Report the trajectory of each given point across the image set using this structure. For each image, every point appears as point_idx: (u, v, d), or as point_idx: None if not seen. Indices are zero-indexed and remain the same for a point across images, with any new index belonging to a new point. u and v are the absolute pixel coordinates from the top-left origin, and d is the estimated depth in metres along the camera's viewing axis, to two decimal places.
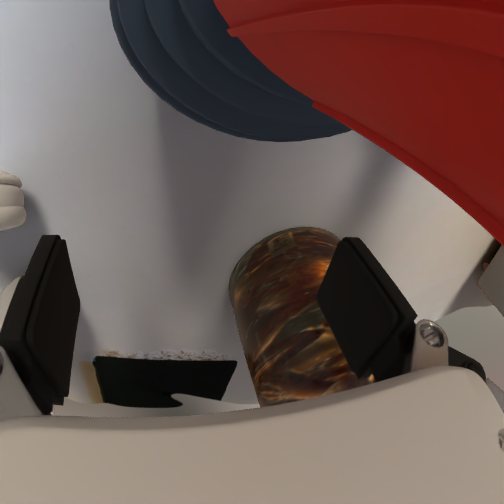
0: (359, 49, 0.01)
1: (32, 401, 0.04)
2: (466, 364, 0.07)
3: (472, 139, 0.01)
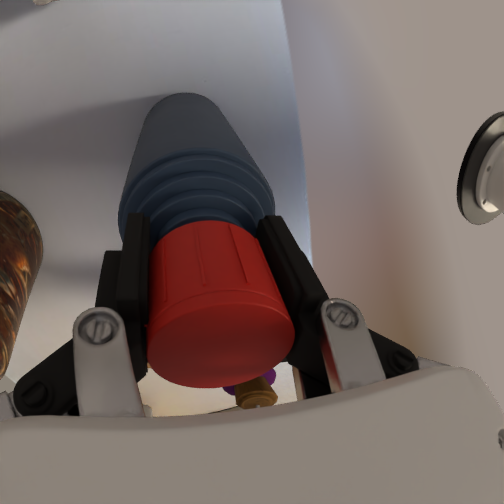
0: (161, 283, 0.07)
1: (133, 378, 0.05)
2: (393, 352, 0.08)
3: (156, 299, 0.07)
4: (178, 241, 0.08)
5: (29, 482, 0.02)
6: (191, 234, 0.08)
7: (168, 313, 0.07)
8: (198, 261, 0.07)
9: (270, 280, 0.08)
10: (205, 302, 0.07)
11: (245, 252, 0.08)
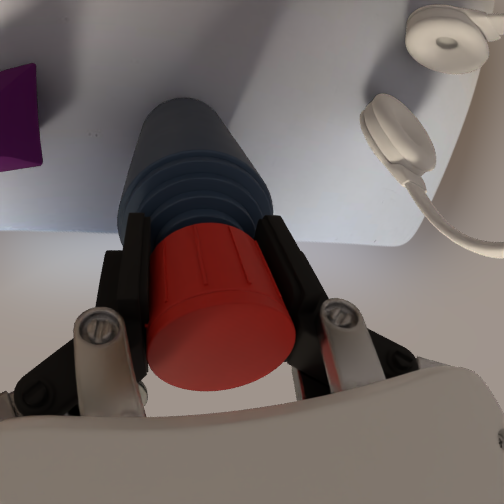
0: (161, 284, 0.07)
1: (134, 378, 0.05)
2: (393, 352, 0.08)
3: (157, 300, 0.07)
4: (178, 242, 0.08)
5: (29, 482, 0.02)
6: (191, 236, 0.08)
7: (169, 313, 0.07)
8: (199, 262, 0.07)
9: (270, 282, 0.08)
10: (206, 302, 0.07)
11: (245, 253, 0.08)
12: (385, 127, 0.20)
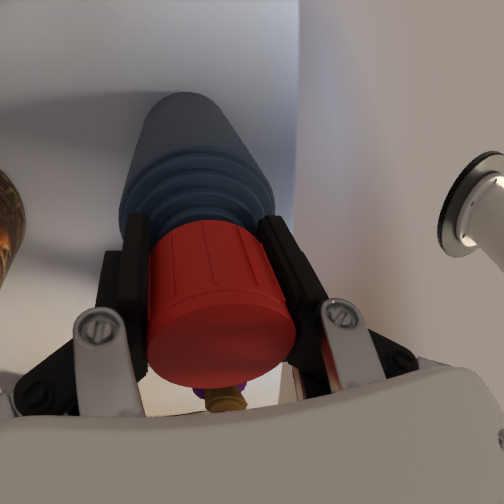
0: None
1: (134, 378, 0.05)
2: (393, 352, 0.08)
3: None
4: None
5: (29, 482, 0.02)
6: None
7: None
8: None
9: (151, 301, 0.08)
10: None
11: None
12: None
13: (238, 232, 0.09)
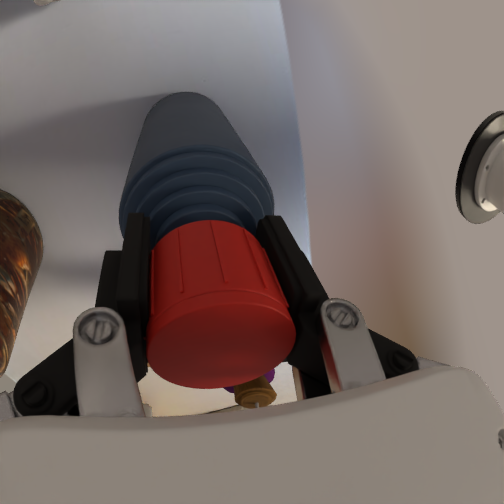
0: None
1: (134, 378, 0.05)
2: (393, 352, 0.08)
3: None
4: None
5: (29, 482, 0.02)
6: None
7: None
8: None
9: None
10: None
11: None
12: None
13: None
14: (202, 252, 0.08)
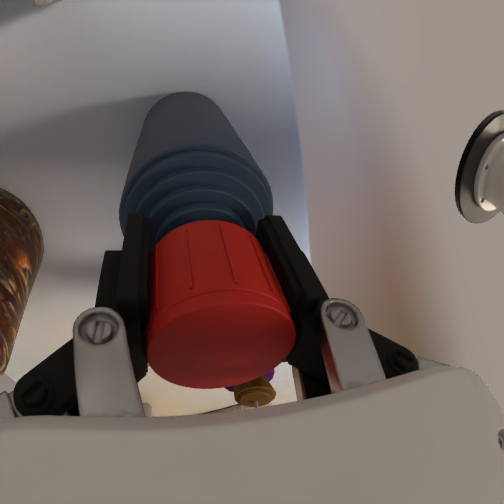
0: (183, 269, 0.07)
1: (133, 378, 0.05)
2: (393, 352, 0.08)
3: (176, 284, 0.07)
4: (202, 233, 0.08)
5: (29, 482, 0.02)
6: (217, 231, 0.08)
7: (195, 301, 0.07)
8: (228, 258, 0.08)
9: (279, 295, 0.09)
10: (237, 298, 0.07)
11: (264, 262, 0.09)
12: None
13: None
14: None
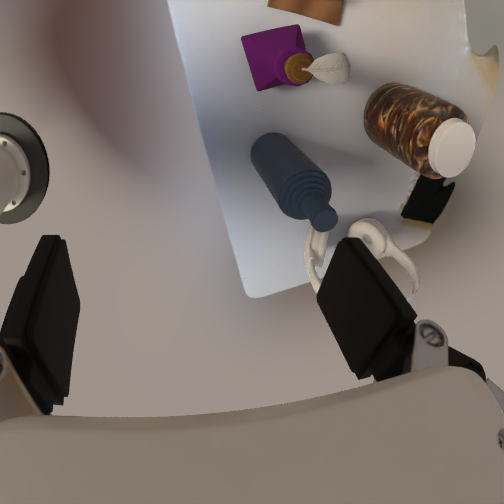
0: None
1: (32, 401, 0.04)
2: (466, 364, 0.07)
3: None
4: None
5: (29, 482, 0.02)
6: None
7: None
8: None
9: None
10: None
11: None
12: (323, 236, 0.48)
13: None
14: None
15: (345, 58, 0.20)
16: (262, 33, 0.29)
